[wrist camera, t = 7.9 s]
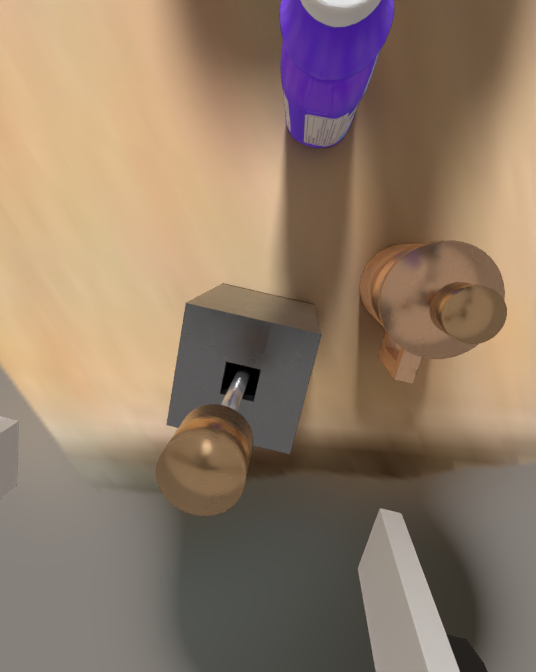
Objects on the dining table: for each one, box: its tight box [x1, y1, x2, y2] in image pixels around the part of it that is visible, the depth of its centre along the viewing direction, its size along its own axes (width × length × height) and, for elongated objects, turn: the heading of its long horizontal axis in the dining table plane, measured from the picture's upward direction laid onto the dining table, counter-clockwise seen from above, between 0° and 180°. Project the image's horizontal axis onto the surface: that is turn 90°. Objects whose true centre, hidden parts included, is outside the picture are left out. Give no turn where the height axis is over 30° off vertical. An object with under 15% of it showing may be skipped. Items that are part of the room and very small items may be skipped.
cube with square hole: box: [167, 284, 321, 454], centre depth 31 cm, size 12×9×12 cm
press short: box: [360, 241, 507, 384], centre depth 27 cm, size 11×8×15 cm
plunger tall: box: [156, 362, 261, 516], centre depth 24 cm, size 7×7×19 cm
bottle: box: [280, 0, 394, 148], centre depth 22 cm, size 7×6×17 cm
